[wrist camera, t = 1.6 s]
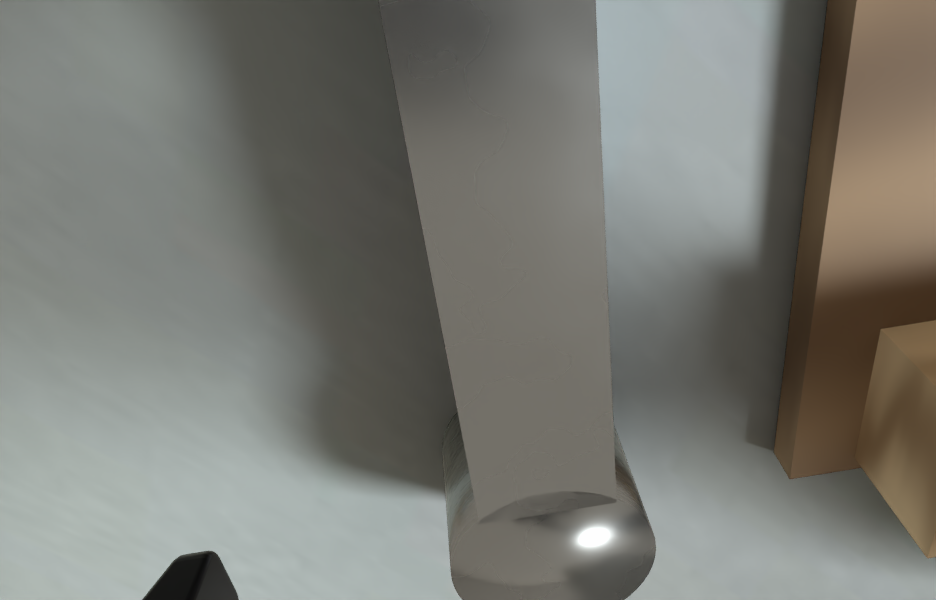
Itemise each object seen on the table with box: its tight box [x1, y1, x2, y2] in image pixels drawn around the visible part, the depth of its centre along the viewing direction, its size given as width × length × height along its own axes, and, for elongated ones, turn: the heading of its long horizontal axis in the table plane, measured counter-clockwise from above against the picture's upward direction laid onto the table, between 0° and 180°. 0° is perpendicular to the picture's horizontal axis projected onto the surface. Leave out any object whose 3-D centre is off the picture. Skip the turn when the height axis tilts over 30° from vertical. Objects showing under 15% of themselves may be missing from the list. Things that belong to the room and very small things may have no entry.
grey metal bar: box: [378, 0, 656, 600], centre depth 16 cm, size 26×6×4 cm, turn 8°
